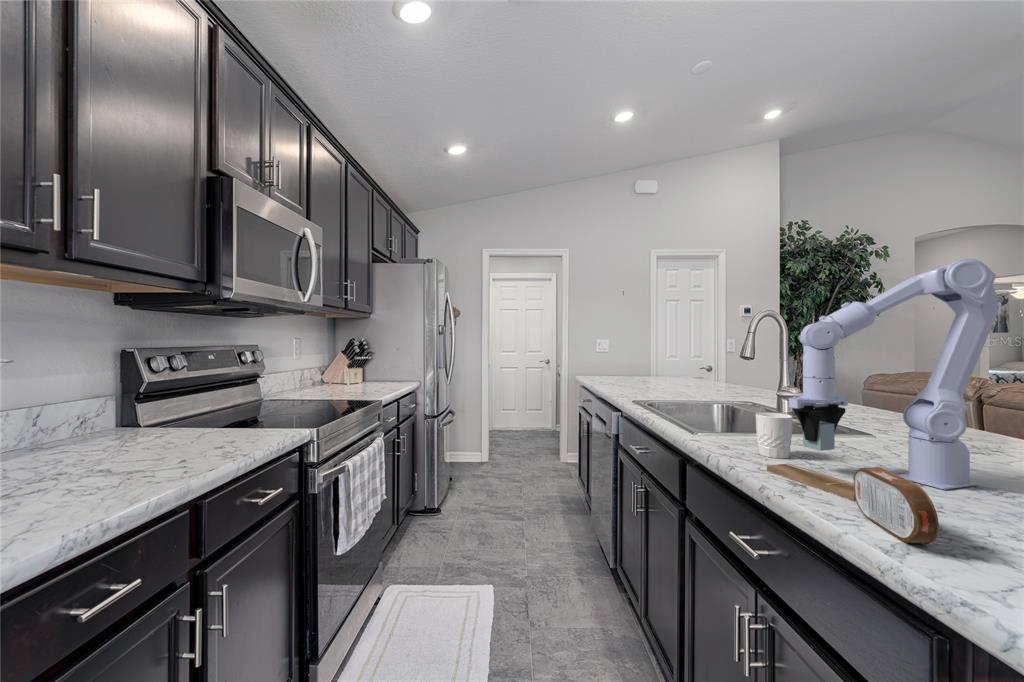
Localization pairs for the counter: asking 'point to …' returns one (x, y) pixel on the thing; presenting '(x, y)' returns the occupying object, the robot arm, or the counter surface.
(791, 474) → the walnut board
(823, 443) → the block
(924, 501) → the tin
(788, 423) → the white cup
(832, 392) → the robot arm
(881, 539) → the counter surface
